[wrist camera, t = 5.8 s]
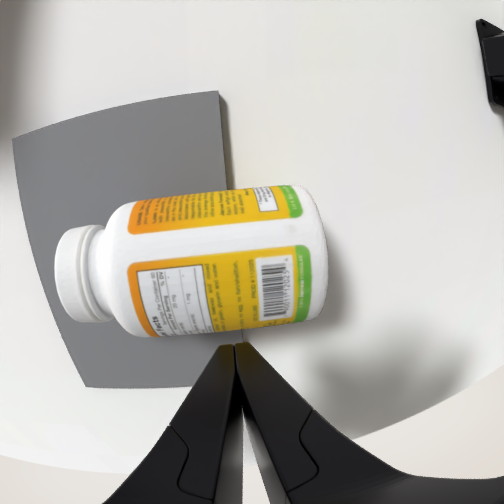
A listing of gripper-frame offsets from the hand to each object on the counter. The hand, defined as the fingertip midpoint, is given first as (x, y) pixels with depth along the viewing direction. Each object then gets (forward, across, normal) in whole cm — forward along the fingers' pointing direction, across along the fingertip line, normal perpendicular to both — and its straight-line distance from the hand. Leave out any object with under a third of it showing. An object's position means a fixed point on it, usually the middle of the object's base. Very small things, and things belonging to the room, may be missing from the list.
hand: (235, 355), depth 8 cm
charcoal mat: (+8, +5, 0) cm, 9 cm away
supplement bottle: (+4, -4, -1) cm, 6 cm away
